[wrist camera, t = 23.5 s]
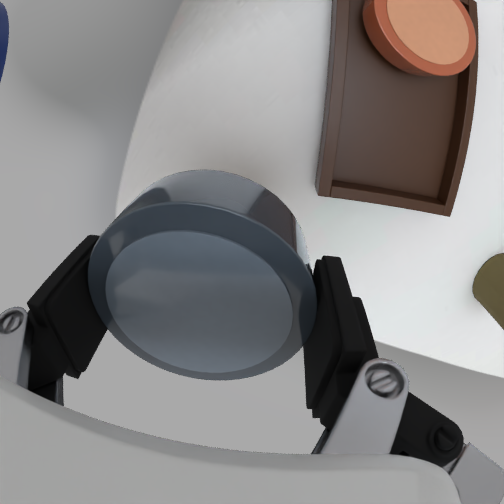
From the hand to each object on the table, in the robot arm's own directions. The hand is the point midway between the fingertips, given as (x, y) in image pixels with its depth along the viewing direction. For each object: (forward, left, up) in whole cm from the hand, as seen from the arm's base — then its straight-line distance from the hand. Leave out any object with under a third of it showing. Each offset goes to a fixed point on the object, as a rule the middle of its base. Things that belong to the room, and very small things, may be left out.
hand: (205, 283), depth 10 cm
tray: (+10, +9, -12) cm, 18 cm away
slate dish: (0, 0, -2) cm, 2 cm away
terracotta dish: (+10, +13, -12) cm, 20 cm away
